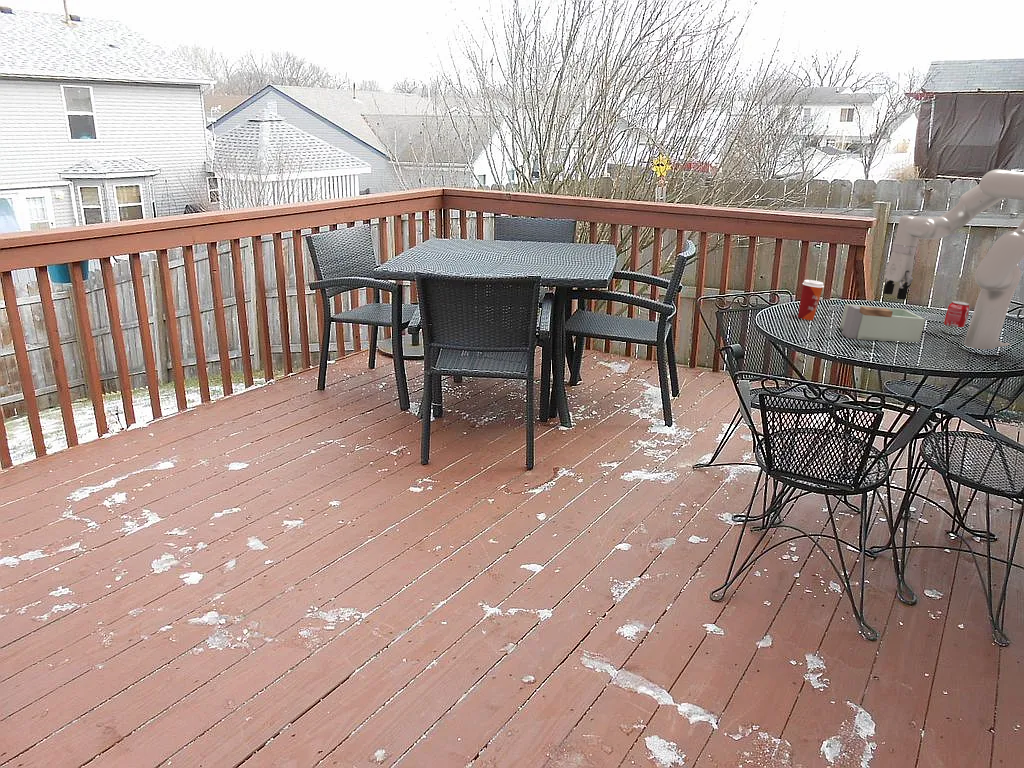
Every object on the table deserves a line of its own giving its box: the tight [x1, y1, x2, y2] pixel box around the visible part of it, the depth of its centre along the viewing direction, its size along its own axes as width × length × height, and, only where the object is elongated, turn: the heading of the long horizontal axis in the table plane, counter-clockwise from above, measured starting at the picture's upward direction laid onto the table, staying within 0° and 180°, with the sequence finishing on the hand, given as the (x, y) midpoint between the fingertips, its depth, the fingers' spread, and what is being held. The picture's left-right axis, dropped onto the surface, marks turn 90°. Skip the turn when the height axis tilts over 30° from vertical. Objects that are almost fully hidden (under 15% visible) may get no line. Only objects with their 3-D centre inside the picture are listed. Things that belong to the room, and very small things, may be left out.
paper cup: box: [797, 279, 825, 321], centre depth 287 cm, size 8×8×14 cm
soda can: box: [943, 300, 971, 328], centre depth 285 cm, size 7×7×12 cm
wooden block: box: [859, 306, 893, 317], centre depth 255 cm, size 9×4×2 cm, turn 92°
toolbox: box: [839, 303, 926, 343], centre depth 271 cm, size 25×14×10 cm, turn 92°
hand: (894, 296), depth 285 cm, fingers open, 9 cm apart
